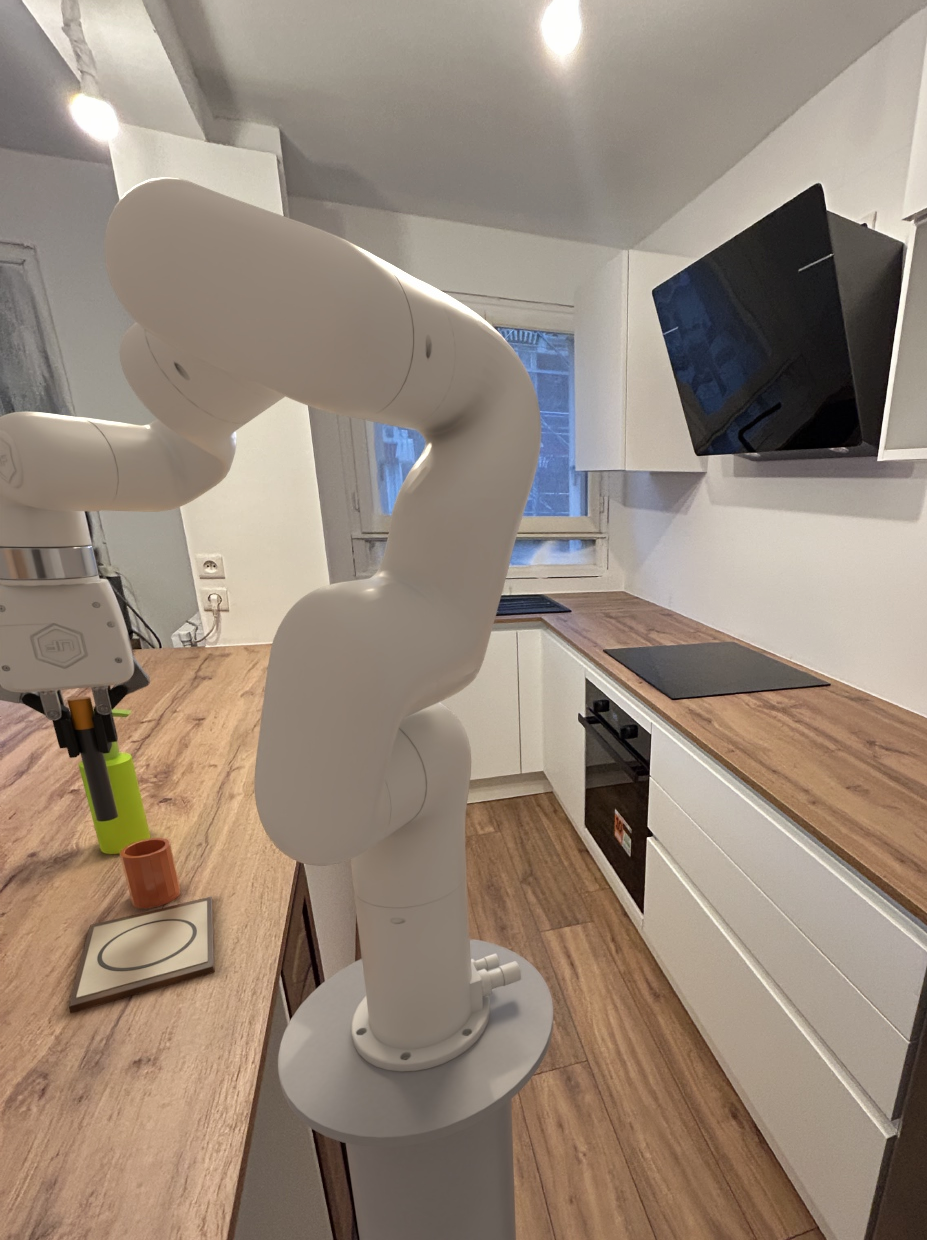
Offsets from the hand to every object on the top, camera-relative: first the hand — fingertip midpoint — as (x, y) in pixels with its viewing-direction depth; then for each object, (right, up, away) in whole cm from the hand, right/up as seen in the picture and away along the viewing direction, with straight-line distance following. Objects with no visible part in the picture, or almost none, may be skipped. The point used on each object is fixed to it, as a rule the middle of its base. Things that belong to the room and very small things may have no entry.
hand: (91, 750), depth 66 cm
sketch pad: (+2, -22, +5) cm, 23 cm away
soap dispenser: (-17, -14, +28) cm, 36 cm away
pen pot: (-4, -19, +15) cm, 25 cm away
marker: (0, -7, +2) cm, 8 cm away
